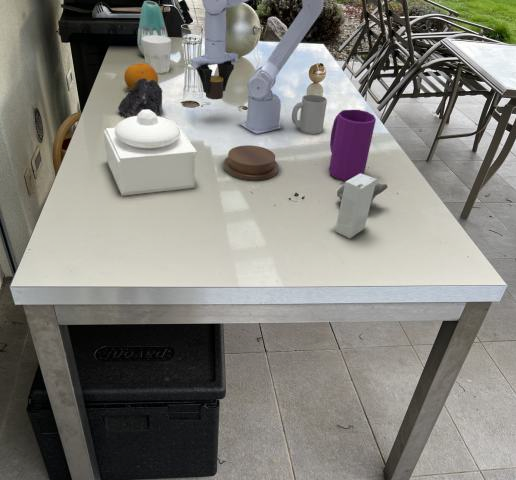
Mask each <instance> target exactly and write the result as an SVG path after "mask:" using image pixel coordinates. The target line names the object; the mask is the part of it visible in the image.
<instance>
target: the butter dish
mask: <svg viewBox="0 0 516 480" xmlns="http://www.w3.org/2000/svg"><path fill="white" fill-rule="evenodd" d="M103 138H104V145H105V154H106V162H107V164H108V168H109V170H110V172H111V174H112V176H113V178H114V181H115V183H116V186H117V188H118V190H119V193H120V194H121V196H131V195H140V194H148V193H149V194H150V193H158V192H168V191H176V190H185V189H186V190H187V189H193V188H194V189H195V187H196V181H195V180H196V177H195V176H196V173H195V171H196V170H195V168H196V167H195V162H196V161H195V158H196V157H195V156H197V155H198V151H197V149H196V148H195V146H194V145H193V144H192V142H191V141H190V140H189V138H188V137H187V136H186V134H185V133H184V131H183V130H182V129H181V128H180V126H179V124H178V123H177V122H174V121H173V120H170V119H169V118H166V117H163V116H156V114H155V113H154V112H152V111H151V110H149V109H147V110H142V111H141V112H140V113H138V114H137V116H133V117H129V118H128V117H127V118H126V117H125V118H124V119H122V120H120V121H119V122H118V123H117V124H116V125H115V127H106V128H105V130H103Z"/></svg>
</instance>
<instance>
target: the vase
mask: <svg viewBox="0 0 516 480" xmlns="http://www.w3.org/2000/svg"><path fill="white" fill-rule="evenodd" d="M140 9H141V10H140V17H139V25H138V29H137V37H136V38H137V39H136V40H137V47H138V48H137V49H138V51H139V53H140V54H141V55H142V56H143V57H144V50H143V44H142V37H144V36H150V35H158V36H165V37H168V38H169V35H168V31H167V27H166V23H165V21H164V15H163V12H162V9H161V7H160V5H159V4H158V3H157V2H156V1H152V0H144V1H143V3H142V6H141V8H140Z"/></svg>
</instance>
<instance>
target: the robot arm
mask: <svg viewBox="0 0 516 480" xmlns="http://www.w3.org/2000/svg"><path fill="white" fill-rule="evenodd" d="M201 1H202V2H201V3H202V7H203V8H204V54H203V55H200V56H197V57H194V58H190V66H191V68H194V69H195V70H196V72H197V74H198V76H199V79H200V82H201V85H202V91H203V93H205V95H206V94H209V93H210V80H211V76H212V73H213V69H211V68H210V66H214V65H217V70H218V76H220V77H222V78H223V92H226V90H227V89H226V88H227V85H228V81H229V79H230V76H231V75H232V73H233V71H234V69H235V64H233V63H239V54H238V53H235V52H230V53H229V52H228V53H227V52H226V49H227V48H226V47H227V46H226V45H227V44H226V43H227V8H228V9H231V8H234V7H236V6H238V5H242V4H244V3H246V2H248V1H250V0H201ZM324 2H325V1H324V0H301V3H302V4H301V5H302V8H301V10H300V11H299V12H298V14H297V16H296V17H295V18H294V19H293V21H292V23H291V24H290V26H289V27H288V29H287V30H286V32H285V33H284V34H283V36H282V37H281V39H280V40H279V42H278V44H277V45H276V47H275V48H274V50H273V51H272V52H271V54H270V55H269V57H268V58H267V59H266V61H265V62H264V64H263V65H262V66H260V67H258V68H257V69H256V70H255V72H254V74H253V75H252V76H251V77H250V78H249V80H248V82H247V86H246V87H247V91H248V94H247V95H248V96H247V111H246V121H244V122H241V123H239V124H240V126H241V127H243V128H245V129H247V130H248V131H250V132H251V133H253V134H255V135H258V134H259V135H260V134H262V133H263V134H264V133H267V132H272V131H275V130H276V131H277V130H280V129H281V126H280V121H281V119H280V118H281V111H282V110H281V109H282V103H281V100H280V98H279V96H278V95H277V94H276V93H274V92H273V90H272V88H273V87H274V86H275V84H276V79H277V76H278V75H279V73H280V72H281V70H282V69H283V67H284V66H285V64H286V63H287V62H288V60H289V59H290V58H291V56H292V55H293V54H294V52H295V51H296V49H297V48H298V46H299V45H300V43H301V42H302V40H303V39H304V38H305V36H306V35H307V33H308V32H309V31H310V29H311V28H312V26H314V24H315V22H316V21H317V19H318V18H319V16H320V15H321V13H322V11H323V9H324Z"/></svg>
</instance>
